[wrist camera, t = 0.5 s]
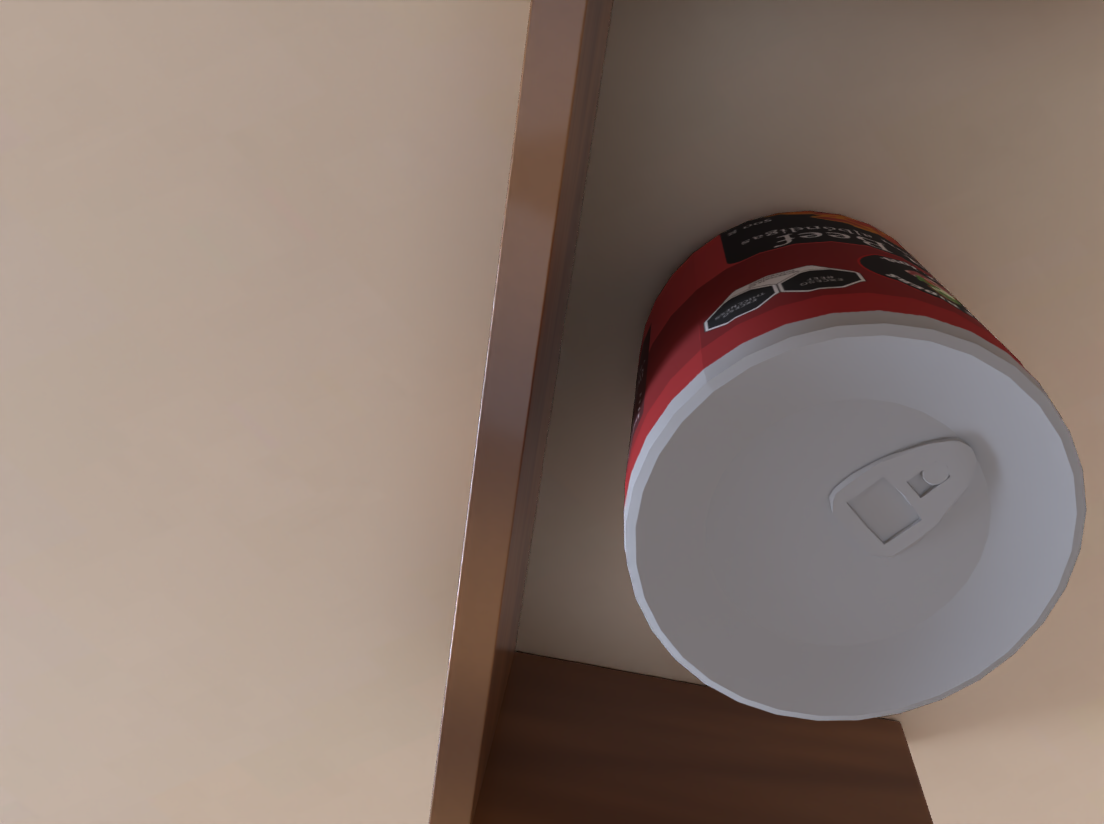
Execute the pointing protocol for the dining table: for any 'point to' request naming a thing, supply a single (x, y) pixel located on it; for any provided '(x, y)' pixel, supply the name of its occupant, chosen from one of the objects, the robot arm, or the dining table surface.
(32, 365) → the dining table surface
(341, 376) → the dining table surface
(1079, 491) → the canned food
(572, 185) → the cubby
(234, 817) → the dining table surface
